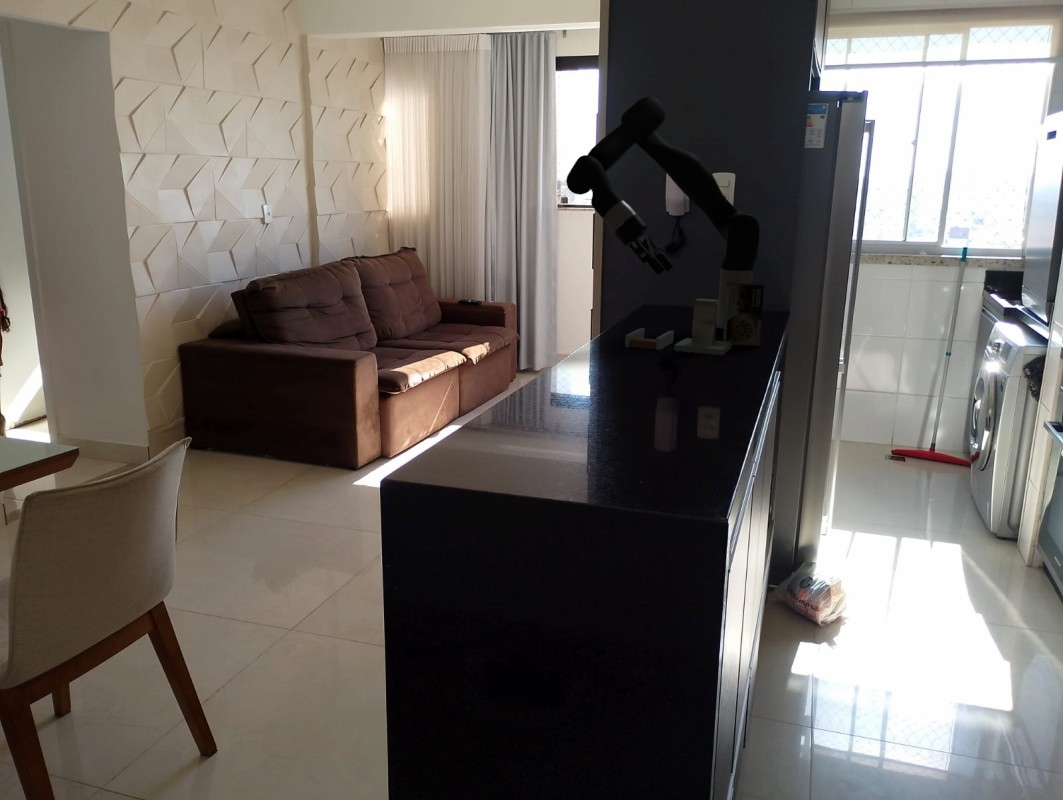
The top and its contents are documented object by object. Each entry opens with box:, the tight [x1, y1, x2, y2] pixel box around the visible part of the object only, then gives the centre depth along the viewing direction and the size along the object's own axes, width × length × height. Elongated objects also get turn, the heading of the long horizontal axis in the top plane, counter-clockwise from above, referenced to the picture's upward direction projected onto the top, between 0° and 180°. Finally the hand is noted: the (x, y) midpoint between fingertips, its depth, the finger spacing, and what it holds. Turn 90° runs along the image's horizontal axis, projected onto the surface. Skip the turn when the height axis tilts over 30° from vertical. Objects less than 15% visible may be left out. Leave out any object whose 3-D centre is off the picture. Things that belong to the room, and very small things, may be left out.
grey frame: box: [624, 327, 675, 351], centre depth 224 cm, size 14×9×3 cm, turn 157°
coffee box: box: [722, 281, 765, 347], centre depth 227 cm, size 9×6×16 cm
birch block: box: [691, 298, 719, 346], centre depth 218 cm, size 5×5×11 cm
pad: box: [673, 337, 733, 356], centre depth 219 cm, size 12×12×2 cm
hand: (666, 270), depth 219 cm, fingers open, 8 cm apart
